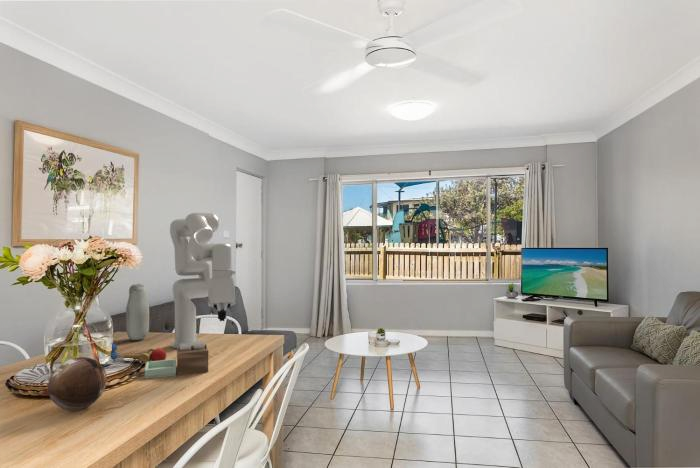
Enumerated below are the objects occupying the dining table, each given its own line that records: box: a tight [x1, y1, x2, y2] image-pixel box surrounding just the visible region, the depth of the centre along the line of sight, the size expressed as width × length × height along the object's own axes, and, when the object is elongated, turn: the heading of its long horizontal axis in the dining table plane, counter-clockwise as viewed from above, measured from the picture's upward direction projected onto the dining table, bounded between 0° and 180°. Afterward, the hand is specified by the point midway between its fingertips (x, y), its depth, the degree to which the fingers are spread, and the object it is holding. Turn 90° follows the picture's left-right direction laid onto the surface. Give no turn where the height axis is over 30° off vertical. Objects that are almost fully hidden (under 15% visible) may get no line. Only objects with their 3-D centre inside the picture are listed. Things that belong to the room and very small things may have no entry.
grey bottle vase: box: [125, 283, 150, 341], centre depth 223 cm, size 10×10×28 cm
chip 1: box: [180, 342, 191, 351], centre depth 172 cm, size 4×4×4 cm
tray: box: [144, 358, 177, 380], centre depth 168 cm, size 12×11×3 cm
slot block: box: [176, 343, 209, 376], centre depth 173 cm, size 12×11×8 cm
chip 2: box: [193, 340, 206, 350], centre depth 174 cm, size 4×4×4 cm
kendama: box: [122, 347, 167, 366], centre depth 182 cm, size 8×6×18 cm
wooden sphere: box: [47, 356, 108, 411], centre depth 133 cm, size 15×15×15 cm
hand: (222, 320), depth 177 cm, fingers closed
